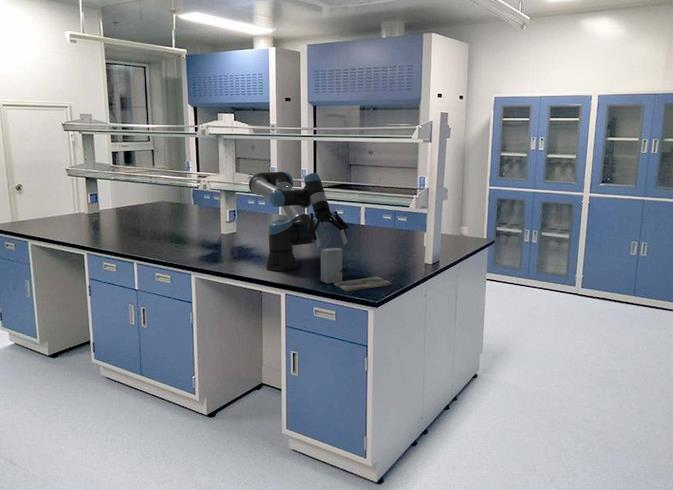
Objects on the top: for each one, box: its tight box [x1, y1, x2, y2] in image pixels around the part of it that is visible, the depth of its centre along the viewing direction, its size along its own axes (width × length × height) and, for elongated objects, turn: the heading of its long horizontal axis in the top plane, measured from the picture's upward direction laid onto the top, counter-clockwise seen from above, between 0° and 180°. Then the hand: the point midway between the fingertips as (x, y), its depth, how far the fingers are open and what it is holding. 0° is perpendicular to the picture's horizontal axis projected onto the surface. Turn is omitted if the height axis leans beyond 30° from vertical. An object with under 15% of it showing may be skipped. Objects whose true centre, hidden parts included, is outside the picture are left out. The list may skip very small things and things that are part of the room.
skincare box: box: [320, 247, 343, 284], centre depth 244 cm, size 8×6×15 cm
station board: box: [333, 275, 392, 292], centre depth 239 cm, size 12×22×1 cm, turn 118°
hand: (332, 244), depth 248 cm, fingers open, 13 cm apart
